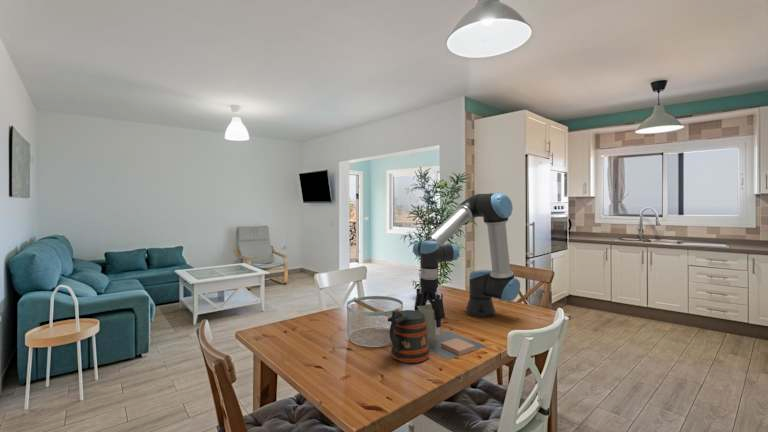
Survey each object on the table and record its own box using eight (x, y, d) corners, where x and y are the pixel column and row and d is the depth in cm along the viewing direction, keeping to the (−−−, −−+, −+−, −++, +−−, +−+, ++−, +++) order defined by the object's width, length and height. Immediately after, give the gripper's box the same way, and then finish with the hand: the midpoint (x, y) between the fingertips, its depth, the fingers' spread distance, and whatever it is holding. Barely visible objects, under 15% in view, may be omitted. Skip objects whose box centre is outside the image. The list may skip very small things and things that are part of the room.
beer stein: (410, 372, 126) (410, 316, 125) (376, 362, 134) (376, 309, 134) (435, 354, 141) (435, 303, 141) (403, 345, 150) (403, 298, 149)
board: (447, 332, 165) (447, 330, 165) (486, 348, 147) (486, 346, 147) (410, 343, 152) (410, 341, 152) (448, 362, 134) (448, 359, 134)
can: (439, 339, 146) (439, 310, 145) (416, 337, 147) (416, 308, 147) (440, 331, 155) (440, 303, 154) (419, 329, 157) (419, 302, 156)
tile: (456, 337, 151) (440, 342, 145) (475, 345, 142) (459, 351, 137) (456, 342, 151) (440, 347, 146) (474, 350, 143) (459, 355, 137)
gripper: (406, 274, 157) (405, 325, 158) (441, 283, 139) (440, 341, 140) (419, 272, 161) (418, 322, 162) (454, 281, 144) (454, 337, 144)
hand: (428, 331), depth 151 cm, fingers closed on can, 9 cm apart
